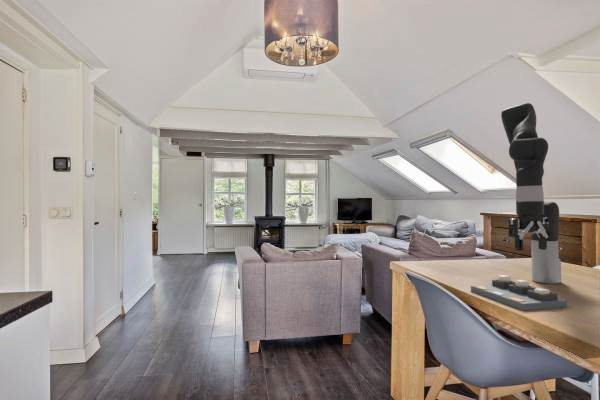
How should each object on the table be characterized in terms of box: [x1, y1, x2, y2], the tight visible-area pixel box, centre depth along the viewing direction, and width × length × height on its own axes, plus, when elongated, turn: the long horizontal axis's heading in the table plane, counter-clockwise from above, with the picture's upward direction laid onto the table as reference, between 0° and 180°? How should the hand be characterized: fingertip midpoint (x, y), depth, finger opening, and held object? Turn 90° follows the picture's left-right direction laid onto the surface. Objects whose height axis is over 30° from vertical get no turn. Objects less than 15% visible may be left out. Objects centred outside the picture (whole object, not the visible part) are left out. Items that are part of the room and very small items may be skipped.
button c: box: [535, 287, 551, 294], centre depth 111 cm, size 4×4×2 cm
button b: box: [514, 279, 530, 288], centre depth 119 cm, size 4×4×2 cm
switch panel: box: [470, 279, 568, 311], centre depth 118 cm, size 16×24×4 cm, turn 10°
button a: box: [497, 274, 512, 283], centre depth 127 cm, size 4×4×2 cm
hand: (531, 250), depth 110 cm, fingers open, 8 cm apart
